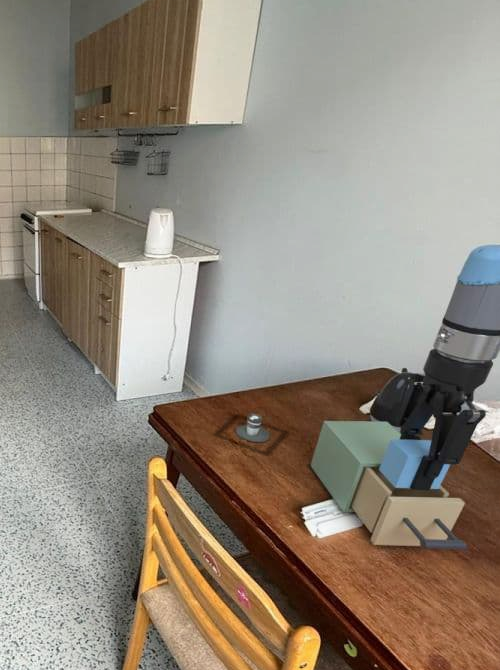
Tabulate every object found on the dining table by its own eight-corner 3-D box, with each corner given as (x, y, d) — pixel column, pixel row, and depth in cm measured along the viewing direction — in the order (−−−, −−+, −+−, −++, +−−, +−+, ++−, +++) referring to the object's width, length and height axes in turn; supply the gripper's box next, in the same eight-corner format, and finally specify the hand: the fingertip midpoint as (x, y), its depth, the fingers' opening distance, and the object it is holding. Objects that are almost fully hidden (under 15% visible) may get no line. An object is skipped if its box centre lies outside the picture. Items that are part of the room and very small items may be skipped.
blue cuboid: (419, 470, 83) (433, 440, 80) (438, 489, 79) (453, 457, 76) (378, 469, 84) (390, 439, 81) (395, 487, 79) (408, 456, 76)
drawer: (469, 576, 75) (495, 530, 71) (395, 573, 76) (415, 528, 72) (396, 494, 93) (413, 454, 88) (336, 493, 93) (350, 453, 89)
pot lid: (285, 432, 115) (290, 415, 112) (266, 453, 107) (270, 435, 105) (238, 415, 122) (241, 399, 120) (216, 434, 115) (219, 417, 112)
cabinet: (411, 513, 89) (434, 464, 84) (343, 512, 90) (360, 463, 85) (370, 467, 102) (387, 421, 97) (310, 465, 103) (323, 420, 97)
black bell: (410, 422, 117) (432, 367, 110) (418, 444, 109) (443, 386, 102) (362, 414, 121) (381, 361, 114) (367, 435, 113) (387, 378, 106)
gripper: (399, 332, 78) (359, 447, 89) (480, 380, 62) (419, 513, 73) (447, 332, 78) (400, 448, 89) (540, 381, 62) (469, 515, 73)
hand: (409, 477), depth 81 cm, fingers closed on blue cuboid, 5 cm apart
